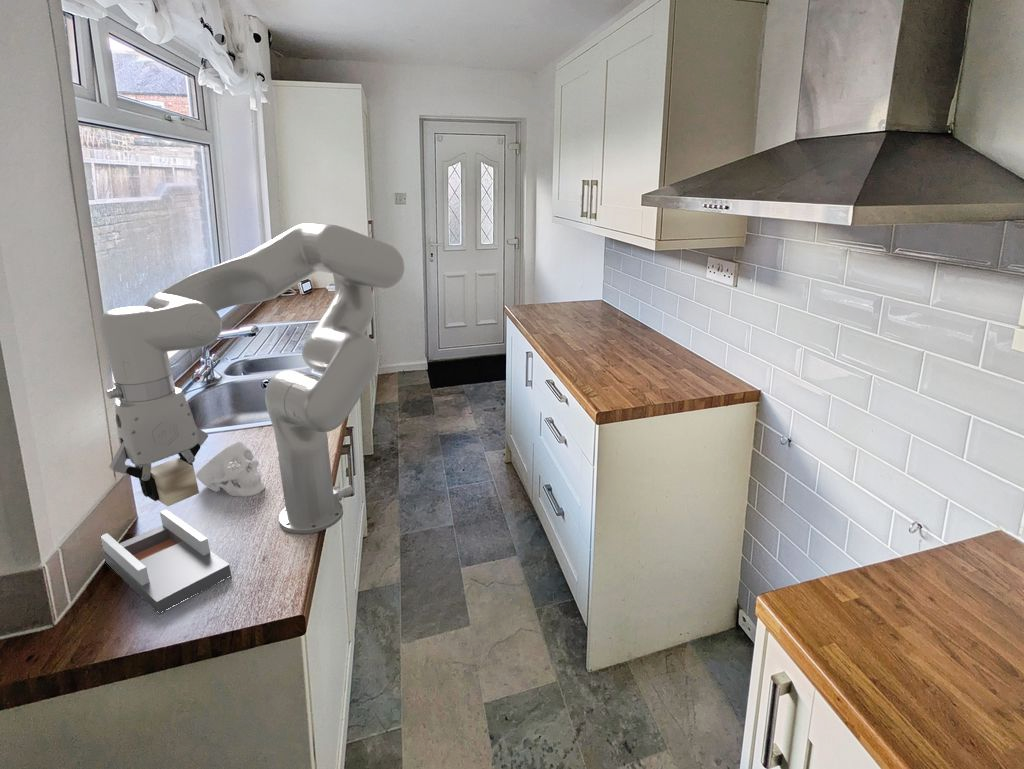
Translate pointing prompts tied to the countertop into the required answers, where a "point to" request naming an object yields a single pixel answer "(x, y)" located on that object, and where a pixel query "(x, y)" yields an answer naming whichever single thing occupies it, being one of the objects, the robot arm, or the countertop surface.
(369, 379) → the robot arm
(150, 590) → the gray tray
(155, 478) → the block
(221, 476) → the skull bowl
